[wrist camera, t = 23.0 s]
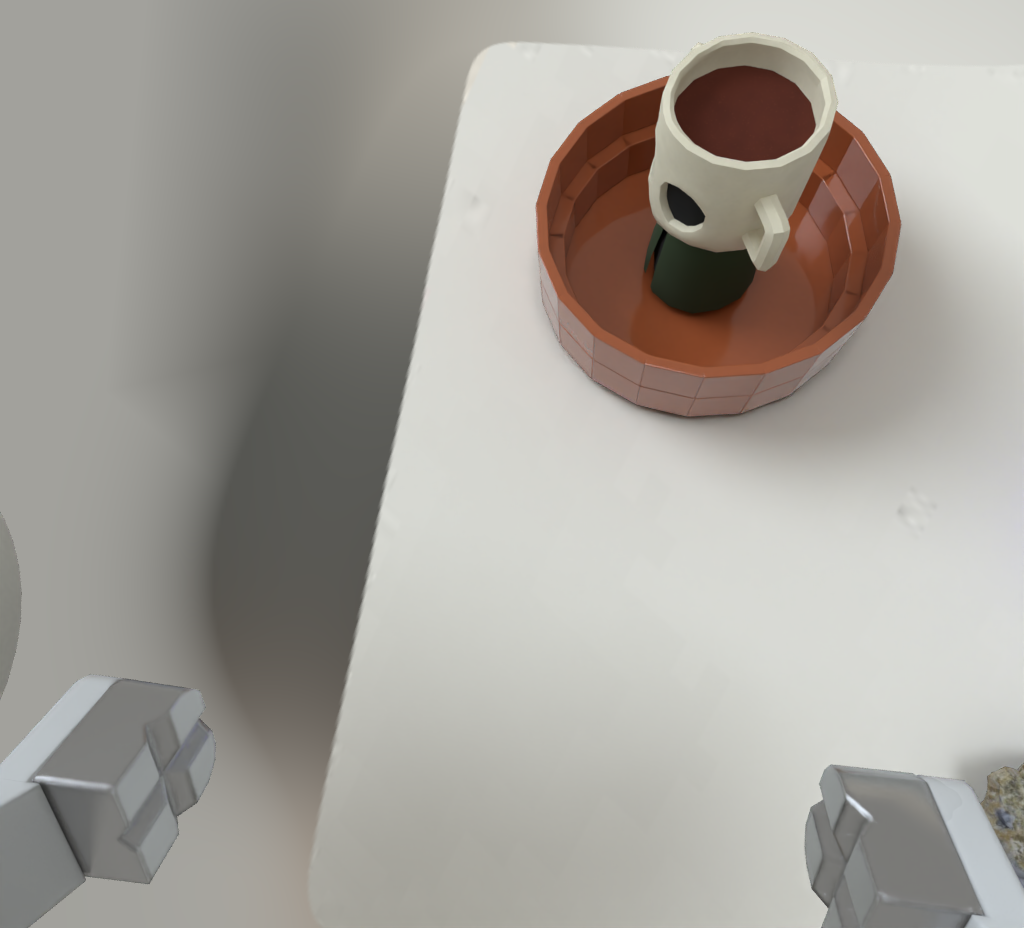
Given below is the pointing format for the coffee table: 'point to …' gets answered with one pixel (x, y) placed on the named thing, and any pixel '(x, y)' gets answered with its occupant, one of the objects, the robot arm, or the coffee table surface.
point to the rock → (1008, 813)
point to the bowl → (739, 325)
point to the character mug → (732, 164)
